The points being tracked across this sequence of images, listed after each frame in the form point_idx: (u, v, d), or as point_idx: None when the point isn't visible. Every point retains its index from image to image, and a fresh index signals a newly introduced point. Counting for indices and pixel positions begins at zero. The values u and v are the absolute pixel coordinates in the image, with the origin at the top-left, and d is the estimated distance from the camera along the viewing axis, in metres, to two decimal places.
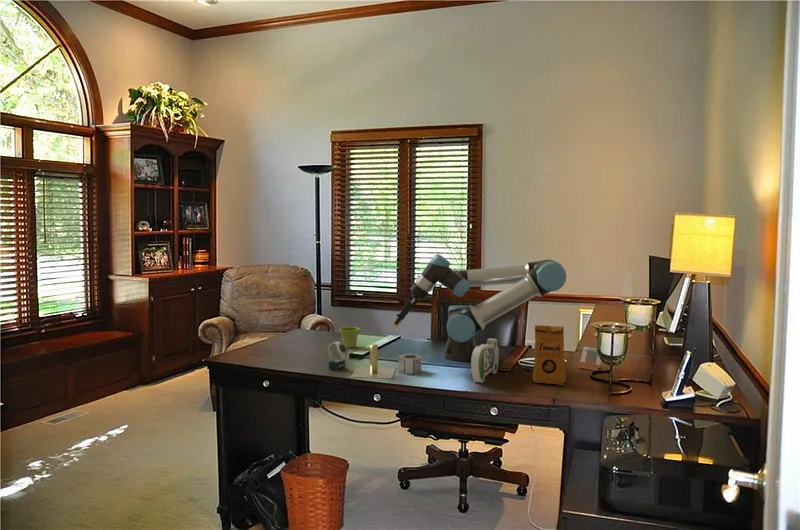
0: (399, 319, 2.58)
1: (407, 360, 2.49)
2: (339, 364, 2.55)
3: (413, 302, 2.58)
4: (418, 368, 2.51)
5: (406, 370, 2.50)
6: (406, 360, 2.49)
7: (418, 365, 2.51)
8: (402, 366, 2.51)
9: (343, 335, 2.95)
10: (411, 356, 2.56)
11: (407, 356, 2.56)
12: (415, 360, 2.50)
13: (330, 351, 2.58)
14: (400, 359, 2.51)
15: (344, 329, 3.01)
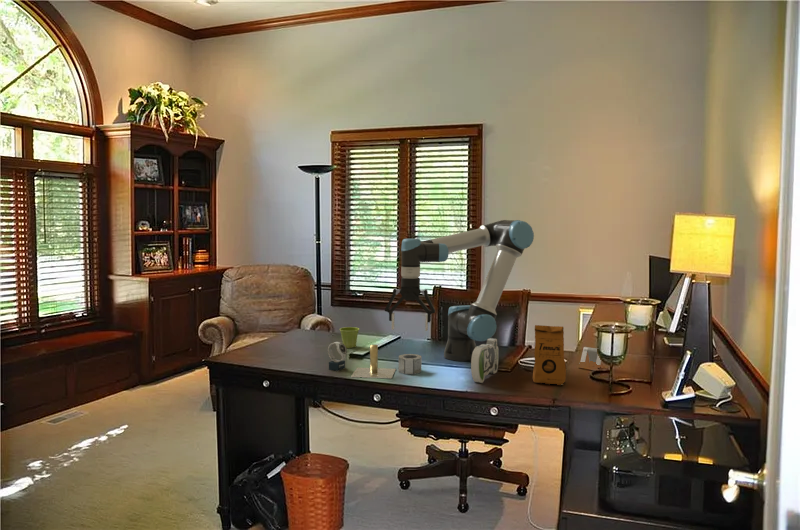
0: (430, 315, 2.52)
1: (407, 360, 2.49)
2: (339, 364, 2.55)
3: (427, 293, 2.51)
4: (418, 368, 2.51)
5: (406, 370, 2.50)
6: (406, 360, 2.49)
7: (418, 365, 2.51)
8: (402, 366, 2.51)
9: (343, 335, 2.95)
10: (411, 356, 2.56)
11: (407, 356, 2.56)
12: (415, 360, 2.50)
13: (330, 351, 2.58)
14: (400, 359, 2.51)
15: (344, 329, 3.01)
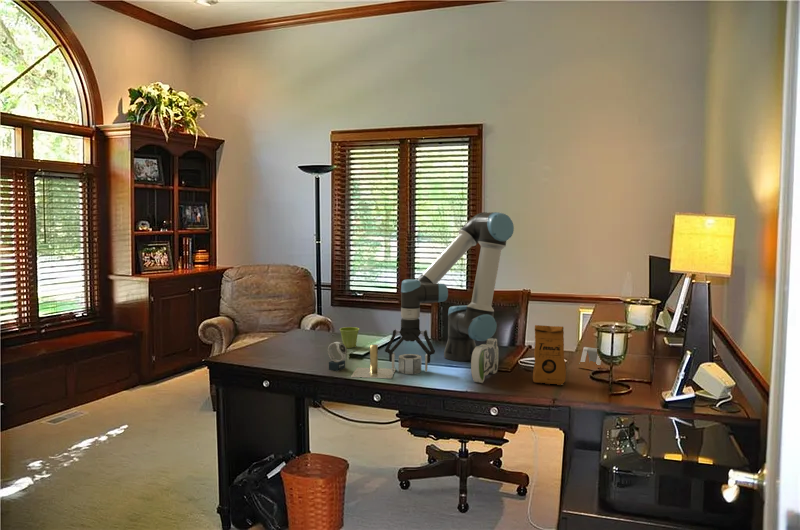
0: None
1: (407, 360, 2.49)
2: (339, 364, 2.55)
3: None
4: (418, 368, 2.51)
5: (406, 370, 2.50)
6: (406, 360, 2.49)
7: (418, 365, 2.51)
8: (402, 366, 2.51)
9: (343, 335, 2.95)
10: (411, 356, 2.56)
11: (407, 356, 2.56)
12: (415, 360, 2.50)
13: (330, 351, 2.58)
14: (400, 359, 2.51)
15: (344, 329, 3.01)
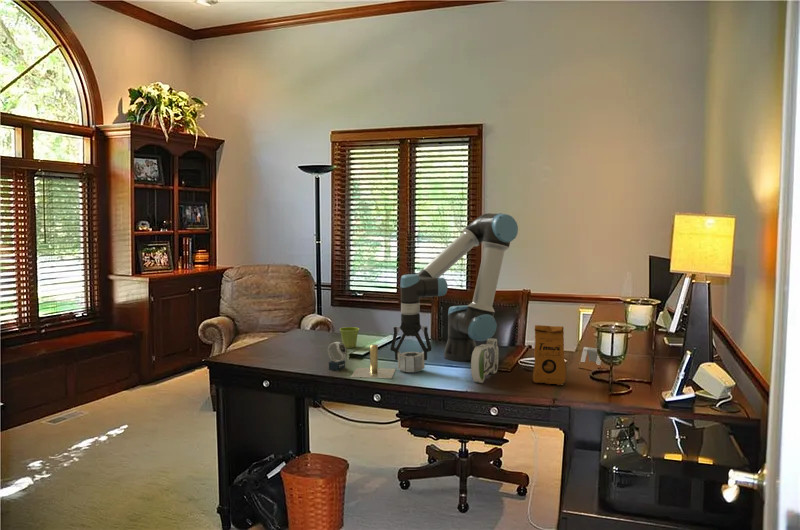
0: None
1: (408, 358, 2.50)
2: (339, 364, 2.55)
3: None
4: (419, 365, 2.51)
5: (407, 368, 2.50)
6: (407, 358, 2.50)
7: (419, 363, 2.51)
8: (403, 364, 2.51)
9: (343, 335, 2.95)
10: (412, 354, 2.57)
11: (408, 354, 2.57)
12: (416, 358, 2.50)
13: (330, 351, 2.58)
14: (401, 357, 2.52)
15: (344, 329, 3.01)
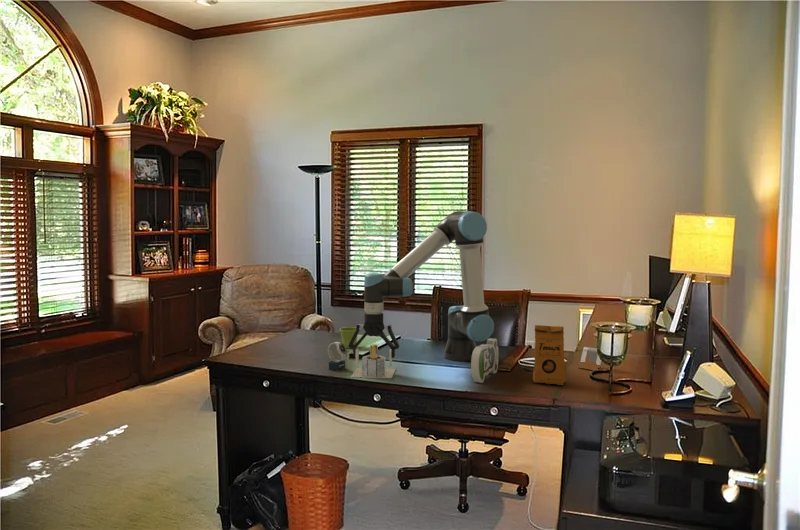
0: (394, 350, 2.49)
1: (370, 361, 2.46)
2: (339, 364, 2.55)
3: (391, 328, 2.49)
4: (381, 369, 2.48)
5: (369, 371, 2.46)
6: (369, 361, 2.46)
7: (381, 366, 2.48)
8: (365, 367, 2.47)
9: (343, 335, 2.95)
10: None
11: None
12: (378, 361, 2.46)
13: (330, 351, 2.58)
14: (363, 360, 2.48)
15: (344, 329, 3.01)
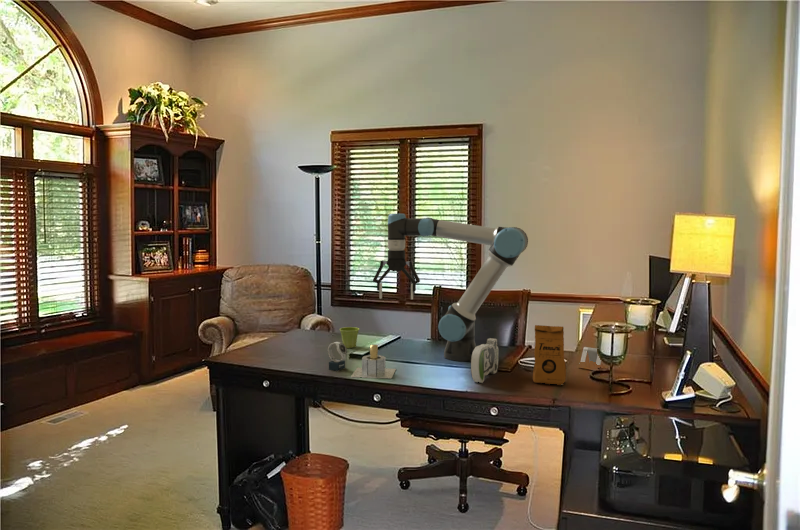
0: (415, 284, 2.70)
1: (370, 361, 2.46)
2: (339, 364, 2.55)
3: (412, 264, 2.70)
4: (381, 369, 2.48)
5: (369, 371, 2.46)
6: (369, 361, 2.46)
7: (381, 366, 2.48)
8: (365, 367, 2.47)
9: (343, 335, 2.95)
10: None
11: None
12: (378, 361, 2.46)
13: (330, 351, 2.58)
14: (363, 360, 2.48)
15: (344, 329, 3.01)
